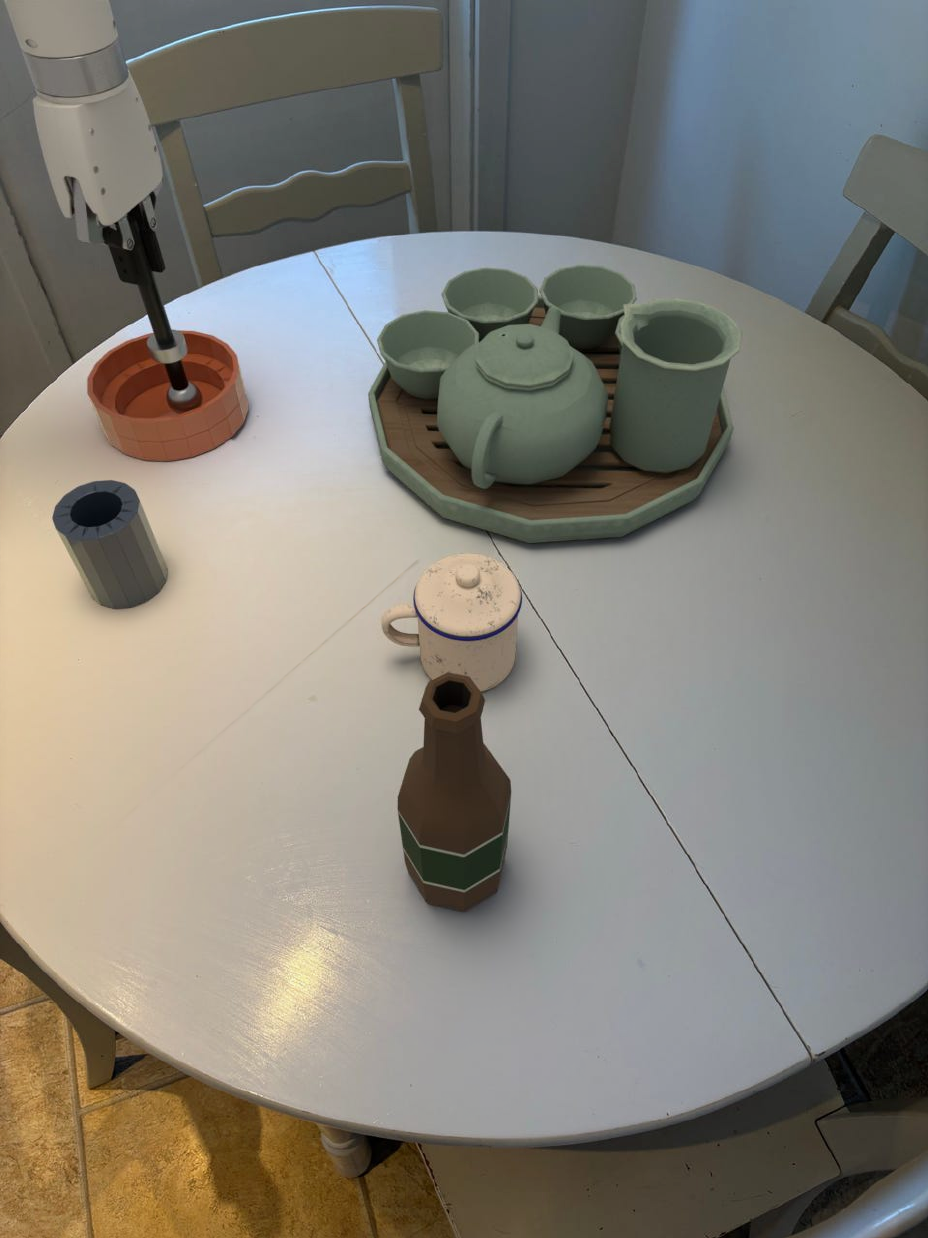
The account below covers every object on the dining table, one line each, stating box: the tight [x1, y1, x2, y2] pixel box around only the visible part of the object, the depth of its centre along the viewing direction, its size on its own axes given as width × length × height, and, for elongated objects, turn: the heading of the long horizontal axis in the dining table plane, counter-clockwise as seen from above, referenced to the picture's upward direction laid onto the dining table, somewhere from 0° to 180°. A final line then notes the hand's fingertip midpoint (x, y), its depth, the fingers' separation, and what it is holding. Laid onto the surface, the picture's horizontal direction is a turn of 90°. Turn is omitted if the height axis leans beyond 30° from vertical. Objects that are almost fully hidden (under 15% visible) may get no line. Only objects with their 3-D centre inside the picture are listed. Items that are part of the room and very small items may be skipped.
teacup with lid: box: [380, 553, 523, 693], centre depth 76 cm, size 12×9×12 cm
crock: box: [51, 479, 169, 610], centre depth 82 cm, size 7×7×10 cm
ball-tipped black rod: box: [126, 215, 202, 414], centre depth 90 cm, size 4×4×22 cm
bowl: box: [86, 329, 250, 462], centre depth 99 cm, size 16×16×6 cm
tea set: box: [367, 264, 743, 544], centre depth 95 cm, size 40×40×16 cm
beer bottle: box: [397, 672, 512, 912], centre depth 59 cm, size 8×8×24 cm
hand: (143, 274), depth 86 cm, fingers closed on ball-tipped black rod
